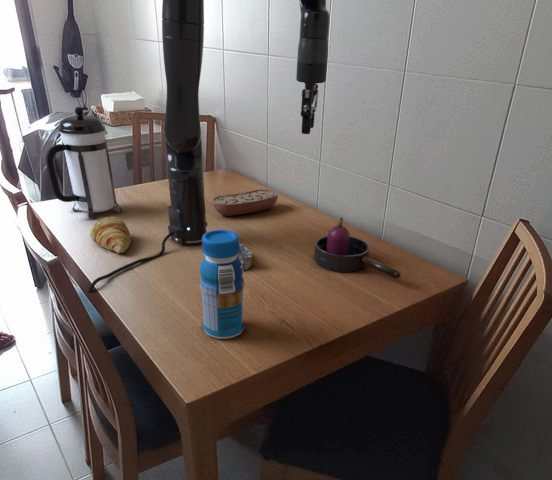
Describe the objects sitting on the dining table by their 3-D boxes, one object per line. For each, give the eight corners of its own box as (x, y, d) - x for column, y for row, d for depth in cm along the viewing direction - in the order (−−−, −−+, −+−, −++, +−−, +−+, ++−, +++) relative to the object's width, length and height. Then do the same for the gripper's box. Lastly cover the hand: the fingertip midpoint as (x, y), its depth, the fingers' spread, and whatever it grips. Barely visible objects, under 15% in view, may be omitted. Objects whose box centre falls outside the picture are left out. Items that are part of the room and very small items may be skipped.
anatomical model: (267, 202, 165) (267, 187, 162) (284, 210, 159) (284, 195, 156) (208, 213, 154) (207, 197, 151) (223, 222, 148) (223, 206, 145)
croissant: (135, 266, 128) (146, 238, 126) (99, 256, 121) (109, 227, 119) (112, 237, 142) (121, 212, 140) (78, 227, 136) (87, 201, 133)
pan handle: (401, 278, 115) (402, 271, 114) (396, 280, 114) (397, 273, 113) (364, 261, 122) (365, 254, 121) (359, 263, 121) (360, 256, 120)
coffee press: (79, 202, 158) (58, 101, 141) (127, 204, 158) (112, 104, 141) (58, 221, 144) (32, 111, 127) (110, 223, 144) (92, 113, 127)
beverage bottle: (195, 335, 96) (188, 240, 84) (214, 315, 102) (210, 224, 91) (233, 344, 93) (231, 248, 82) (251, 323, 100) (251, 231, 88)
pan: (341, 277, 119) (343, 261, 116) (302, 258, 128) (303, 242, 125) (378, 263, 127) (381, 247, 124) (339, 246, 135) (341, 231, 133)
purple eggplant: (330, 262, 125) (335, 221, 119) (322, 253, 130) (325, 214, 123) (350, 260, 127) (356, 219, 120) (341, 251, 131) (346, 212, 125)
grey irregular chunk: (253, 269, 121) (253, 254, 119) (223, 272, 119) (223, 256, 117) (245, 252, 129) (245, 238, 127) (217, 254, 128) (217, 240, 125)
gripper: (301, 57, 125) (297, 125, 134) (293, 61, 113) (289, 134, 123) (329, 59, 124) (323, 126, 133) (324, 62, 112) (319, 137, 122)
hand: (307, 130), depth 128 cm, fingers open, 8 cm apart
